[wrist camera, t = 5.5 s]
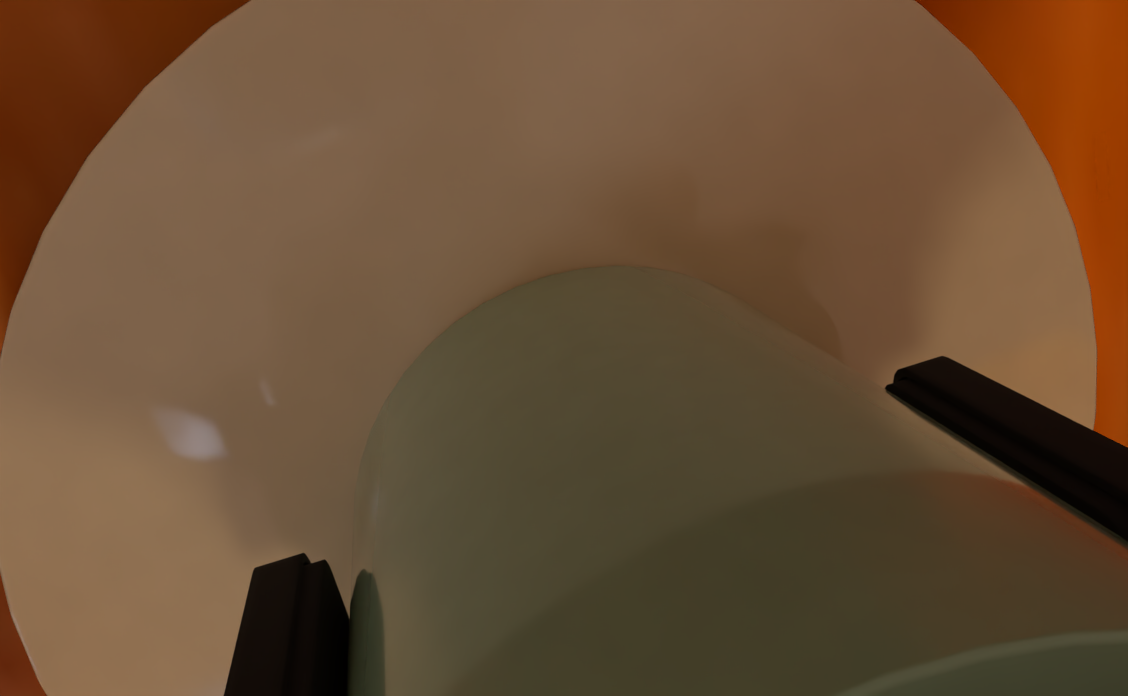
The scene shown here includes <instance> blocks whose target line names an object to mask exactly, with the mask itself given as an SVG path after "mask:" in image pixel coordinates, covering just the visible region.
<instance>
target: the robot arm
mask: <svg viewBox="0 0 1128 696" xmlns="http://www.w3.org/2000/svg"><path fill="white" fill-rule="evenodd" d="M884 389H886V390H887V391H889V392H891V393H892V394H894V395H895V396H897V397H899V398H900V399H902V400H903V401H905V402H907V403H908V404H910V405H911V406H913V407H914V408H916V409H918V410H919V411H921V412H922V413H924V414H926V415H927V416H929V417H930V418H932V419H934V420H935V421H937V422H938V423H940V424H942V425H943V426H945V427H946V428H948V429H950V430H951V431H953V432H954V433H956V434H958V435H959V436H961V437H962V438H964V439H966V440H967V441H969V442H970V443H972V444H974V445H975V446H977V447H978V448H980V449H982V450H983V451H985V452H986V453H988V454H990V455H991V456H993V457H994V458H996V459H997V460H999V461H1001V462H1002V463H1004V464H1005V465H1007V466H1009V467H1010V468H1012V469H1013V470H1015V471H1017V472H1018V473H1020V474H1021V475H1023V476H1025V477H1026V478H1028V479H1029V480H1031V481H1033V482H1034V483H1036V484H1037V485H1039V486H1041V487H1042V488H1044V489H1045V490H1047V491H1049V492H1050V493H1052V494H1053V495H1055V496H1057V497H1058V498H1060V499H1061V500H1063V501H1065V502H1066V503H1068V504H1069V505H1071V506H1073V507H1074V508H1076V509H1077V510H1079V511H1081V512H1082V513H1084V514H1085V515H1087V516H1088V517H1090V518H1092V519H1093V520H1095V521H1096V522H1098V523H1100V524H1101V525H1103V526H1104V527H1106V528H1108V529H1109V530H1111V531H1112V532H1114V533H1116V534H1117V535H1119V536H1120V537H1122V538H1124V539H1125V540H1127V541H1128V448H1127V447H1125V446H1123V445H1121V444H1119V443H1117V442H1115V441H1113V440H1111V439H1109V438H1107V437H1105V436H1103V435H1101V434H1099V433H1097V432H1095V431H1093V430H1091V429H1089V428H1087V427H1085V426H1083V425H1081V424H1079V423H1077V422H1075V421H1073V420H1071V419H1069V418H1067V417H1065V416H1063V415H1061V414H1059V413H1057V412H1055V411H1053V410H1052V409H1050V408H1048V407H1046V406H1044V405H1042V404H1040V403H1038V402H1036V401H1034V400H1032V399H1030V398H1028V397H1026V396H1024V395H1022V394H1020V393H1018V392H1016V391H1014V390H1012V389H1010V388H1008V387H1006V386H1004V385H1002V384H1000V383H998V382H996V381H994V380H992V379H990V378H988V377H986V376H984V375H982V374H980V373H978V372H976V371H974V370H972V369H970V368H968V367H966V366H964V365H962V364H960V363H958V362H956V361H954V360H952V359H950V358H948V357H945V356H940V357H936V358H933V359H930V360H927V361H923V362H920V363H917V364H914V365H910V366H907V367H904V368H901V369H898V370H897V371H896V373H895V374H894V379H893V383H891V384H888V385H886V387H885V388H884ZM349 621H350V619H349V616H348V613H347V611H346V608H345V605H344V602H343V600H342V597H341V594H340V592H339V589H338V586H337V584H336V581H335V578H334V576H333V573H332V570H331V568H330V566H329V564H328V562H327V561H326V560H325V559H324V560H321V561H317V562H314V563H311V561H310V560H309V558H308V556H307V555H306V554H305V553H301V554H298V555H294V556H291V557H288V558H285V559H281V560H278V561H275V562H272V563H268V564H265V565H262V566H259V567H255V568H254V570H253V573H252V577H251V581H250V585H249V590H248V594H247V598H246V602H245V607H244V611H243V615H242V619H241V624H240V628H239V632H238V636H237V641H236V645H235V649H234V654H233V658H232V662H231V666H230V671H229V675H228V679H227V683H226V688H225V692H224V696H347V672H348V647H349Z"/></svg>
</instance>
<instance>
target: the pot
mask: <svg viewBox="0 0 1128 696" xmlns="http://www.w3.org/2000/svg"><path fill="white" fill-rule="evenodd" d="M940 356H945V357H948V358H950V359H952V360H954V361H956V362H958V363H960V364H962V365H964V366H966V367H968V368H970V369H972V370H974V371H976V372H978V373H980V374H982V375H984V376H986V377H988V378H990V379H992V380H994V381H996V382H998V383H1000V384H1002V385H1004V386H1006V387H1008V388H1010V389H1012V390H1014V391H1016V392H1018V393H1020V394H1022V395H1024V396H1026V397H1028V398H1030V399H1032V400H1034V401H1036V402H1038V403H1040V404H1042V405H1044V406H1046V407H1048V408H1050V409H1052V410H1053V411H1055V412H1057V413H1059V414H1061V415H1063V416H1065V417H1067V418H1069V419H1071V420H1073V421H1075V422H1077V423H1079V424H1081V425H1083V426H1085V427H1087V428H1089V429H1091V430H1094V423H1095V416H1096V384H1097V345H1096V336H1095V326H1094V317H1093V308H1092V299H1091V290H1090V285H1089V281H1088V277H1087V273H1086V269H1085V265H1084V261H1083V257H1082V253H1081V249H1080V244H1079V240H1078V236H1077V232H1076V228H1075V225H1074V223H1073V220H1072V218H1071V215H1070V213H1069V210H1068V208H1067V205H1066V203H1065V200H1064V198H1063V195H1062V193H1061V190H1060V188H1059V185H1058V183H1057V180H1056V178H1055V175H1054V173H1053V170H1052V168H1051V166H1050V164H1049V162H1048V160H1047V159H1046V157H1045V155H1044V153H1043V152H1042V150H1041V148H1040V147H1039V145H1038V143H1037V141H1036V140H1035V138H1034V136H1033V134H1032V133H1031V131H1030V129H1029V128H1028V126H1027V124H1026V122H1025V121H1024V119H1023V117H1022V116H1021V114H1020V112H1019V110H1018V109H1017V107H1016V106H1015V105H1014V103H1013V102H1012V101H1011V100H1010V98H1009V97H1008V96H1007V95H1006V93H1005V92H1004V91H1003V90H1002V88H1001V87H1000V86H999V85H998V83H997V82H996V81H995V80H994V78H993V77H992V76H991V75H990V73H989V72H988V71H987V70H986V68H985V67H984V66H983V65H982V63H981V62H980V61H979V60H978V58H977V57H976V56H975V55H974V53H972V52H971V51H970V50H969V49H968V48H967V47H966V46H965V45H964V44H963V43H962V42H961V41H960V40H958V39H957V38H956V37H955V36H954V35H953V34H952V33H951V32H950V31H949V30H948V29H947V28H945V27H944V26H943V25H942V24H941V23H940V22H939V21H938V20H937V19H936V18H935V17H934V16H933V15H931V14H930V13H929V12H928V11H927V10H926V9H925V8H924V7H923V6H922V5H921V4H919V3H918V2H916V1H915V0H250V1H248V2H247V3H245V4H244V5H242V6H241V7H239V8H238V9H236V10H235V11H233V12H232V13H230V14H229V15H227V16H226V17H224V18H223V19H221V20H220V21H218V22H217V23H215V24H214V25H212V26H211V27H210V28H209V29H208V30H206V31H205V32H204V33H203V34H202V35H201V36H200V37H199V38H198V39H197V40H195V41H194V42H193V43H192V44H191V45H190V46H189V47H188V48H187V49H185V50H184V51H183V52H182V53H181V54H180V55H179V56H178V57H177V58H176V59H174V60H173V61H172V62H171V63H170V64H169V65H168V66H167V67H166V68H165V69H163V70H162V71H161V72H160V73H159V74H158V75H157V76H156V77H155V78H153V79H152V80H151V81H150V82H149V83H148V84H147V85H146V86H145V87H144V88H143V89H142V90H141V91H140V93H139V94H138V95H137V96H136V98H135V99H134V100H133V101H132V102H131V104H130V105H129V106H128V107H127V108H126V110H125V111H124V112H123V113H122V115H121V116H120V117H119V118H118V119H117V121H116V122H115V123H114V124H113V126H112V127H111V128H110V129H109V130H108V132H107V133H106V134H105V135H104V137H103V138H102V139H101V140H100V141H99V143H98V144H97V145H96V146H95V147H94V149H93V150H92V151H91V152H90V154H89V155H88V156H87V158H86V159H85V161H84V163H83V164H82V166H81V168H80V169H79V171H78V173H77V174H76V176H75V178H74V180H73V181H72V183H71V185H70V186H69V188H68V190H67V191H66V193H65V195H64V196H63V198H62V200H61V201H60V203H59V205H58V206H57V208H56V210H55V211H54V213H53V215H52V216H51V218H50V220H49V222H48V223H47V225H46V227H45V228H44V230H43V232H42V234H41V237H40V239H39V242H38V244H37V247H36V249H35V252H34V254H33V257H32V259H31V261H30V264H29V266H28V269H27V271H26V274H25V276H24V279H23V281H22V284H21V286H20V289H19V291H18V294H17V296H16V299H15V301H14V304H13V306H12V308H11V312H10V316H9V321H8V325H7V329H6V333H5V338H4V342H3V346H2V350H1V355H0V574H1V578H2V582H3V586H4V590H5V594H6V598H7V602H8V606H9V610H10V614H11V617H12V620H13V622H14V625H15V627H16V629H17V632H18V634H19V636H20V639H21V641H22V643H23V646H24V648H25V651H26V653H27V655H28V658H29V660H30V662H31V665H32V667H33V669H34V672H35V674H36V677H37V679H38V681H39V683H40V685H41V687H42V688H43V690H44V691H45V693H46V695H47V696H224V692H225V688H226V683H227V679H228V675H229V671H230V666H231V662H232V658H233V654H234V649H235V645H236V641H237V636H238V632H239V628H240V624H241V619H242V615H243V611H244V607H245V602H246V598H247V594H248V590H249V585H250V581H251V577H252V573H253V570H254V568H255V567H259V566H262V565H265V564H268V563H272V562H275V561H278V560H281V559H285V558H288V557H291V556H294V555H298V554H301V553H305V554H306V555H307V556H308V558H309V560H310V561H311V563H314V562H317V561H321V560H324V559H325V560H326V561H327V562H328V564H329V566H330V568H331V570H332V573H333V576H334V578H335V581H336V584H337V586H338V589H339V592H340V594H341V597H342V600H343V602H344V605H345V608H346V611H347V613H348V616H349V619H350V621H349V647H348V672H347V696H1128V541H1127V540H1125V539H1124V538H1122V537H1120V536H1119V535H1117V534H1116V533H1114V532H1112V531H1111V530H1109V529H1108V528H1106V527H1104V526H1103V525H1101V524H1100V523H1098V522H1096V521H1095V520H1093V519H1092V518H1090V517H1088V516H1087V515H1085V514H1084V513H1082V512H1081V511H1079V510H1077V509H1076V508H1074V507H1073V506H1071V505H1069V504H1068V503H1066V502H1065V501H1063V500H1061V499H1060V498H1058V497H1057V496H1055V495H1053V494H1052V493H1050V492H1049V491H1047V490H1045V489H1044V488H1042V487H1041V486H1039V485H1037V484H1036V483H1034V482H1033V481H1031V480H1029V479H1028V478H1026V477H1025V476H1023V475H1021V474H1020V473H1018V472H1017V471H1015V470H1013V469H1012V468H1010V467H1009V466H1007V465H1005V464H1004V463H1002V462H1001V461H999V460H997V459H996V458H994V457H993V456H991V455H990V454H988V453H986V452H985V451H983V450H982V449H980V448H978V447H977V446H975V445H974V444H972V443H970V442H969V441H967V440H966V439H964V438H962V437H961V436H959V435H958V434H956V433H954V432H953V431H951V430H950V429H948V428H946V427H945V426H943V425H942V424H940V423H938V422H937V421H935V420H934V419H932V418H930V417H929V416H927V415H926V414H924V413H922V412H921V411H919V410H918V409H916V408H914V407H913V406H911V405H910V404H908V403H907V402H905V401H903V400H902V399H900V398H899V397H897V396H895V395H894V394H892V393H891V392H889V391H887V390H886V389H884V388H885V387H886V385H888V384H891V383H893V379H894V374H895V373H896V371H897V370H898V369H901V368H904V367H907V366H910V365H914V364H917V363H920V362H923V361H927V360H930V359H933V358H936V357H940Z"/></svg>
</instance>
